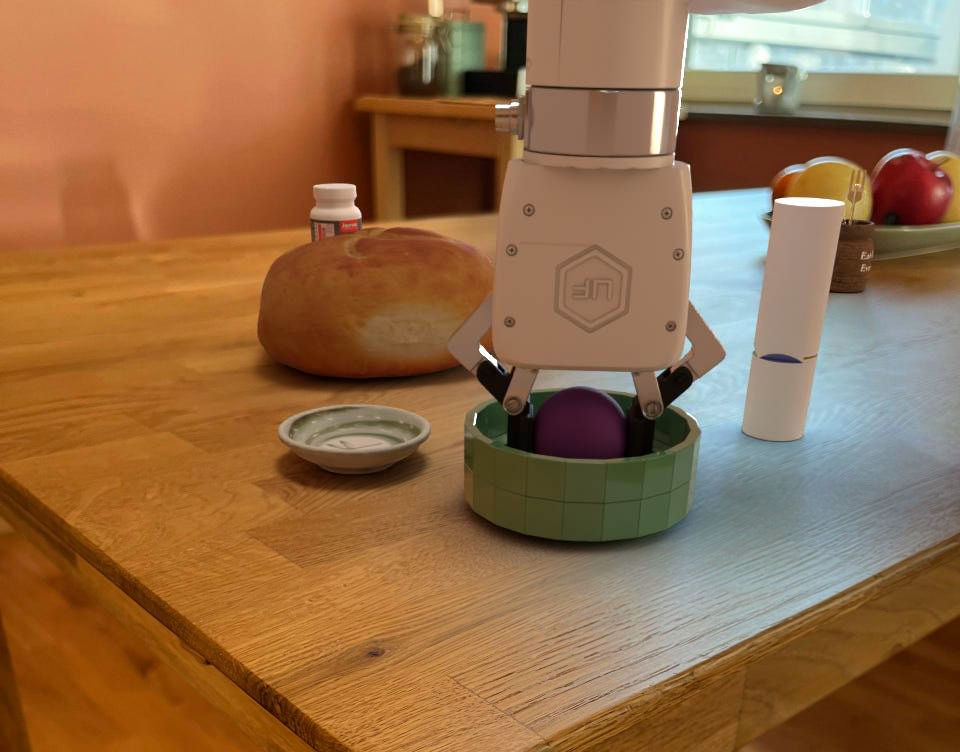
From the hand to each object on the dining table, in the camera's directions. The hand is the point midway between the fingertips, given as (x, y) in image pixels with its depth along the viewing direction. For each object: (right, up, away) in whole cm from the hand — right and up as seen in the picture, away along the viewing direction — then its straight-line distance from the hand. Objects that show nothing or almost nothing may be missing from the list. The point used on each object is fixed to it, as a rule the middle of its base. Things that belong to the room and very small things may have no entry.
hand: (576, 474), depth 59 cm
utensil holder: (+35, +30, +57) cm, 73 cm away
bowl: (0, -2, +1) cm, 2 cm away
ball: (0, +2, -1) cm, 2 cm away
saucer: (-14, +2, +7) cm, 15 cm away
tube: (+15, +5, +13) cm, 20 cm away
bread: (-14, +15, +30) cm, 37 cm away
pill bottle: (-22, +31, +57) cm, 69 cm away
